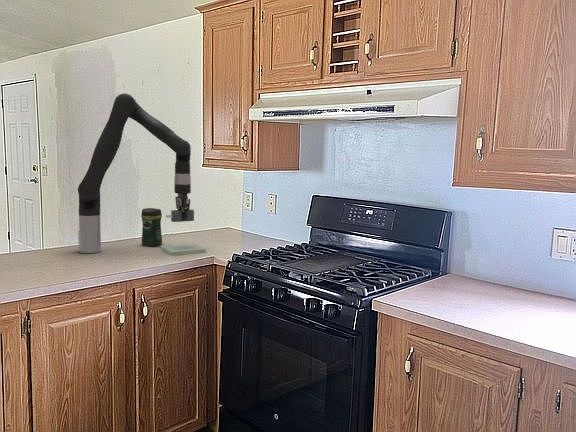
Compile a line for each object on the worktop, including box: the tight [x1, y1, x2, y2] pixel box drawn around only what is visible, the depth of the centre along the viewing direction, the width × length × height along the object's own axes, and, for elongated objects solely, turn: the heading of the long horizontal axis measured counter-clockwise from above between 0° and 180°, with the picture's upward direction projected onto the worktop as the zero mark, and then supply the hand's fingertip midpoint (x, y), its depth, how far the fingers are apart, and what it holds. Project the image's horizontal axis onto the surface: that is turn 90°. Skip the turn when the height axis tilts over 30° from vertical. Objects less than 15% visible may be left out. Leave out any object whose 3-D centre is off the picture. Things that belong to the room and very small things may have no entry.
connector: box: [165, 208, 195, 223], centre depth 247 cm, size 13×4×5 cm, turn 122°
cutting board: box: [159, 242, 207, 257], centre depth 250 cm, size 17×16×2 cm
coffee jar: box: [140, 207, 163, 247], centre depth 260 cm, size 10×8×19 cm
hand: (182, 219), depth 248 cm, fingers closed on connector, 4 cm apart
